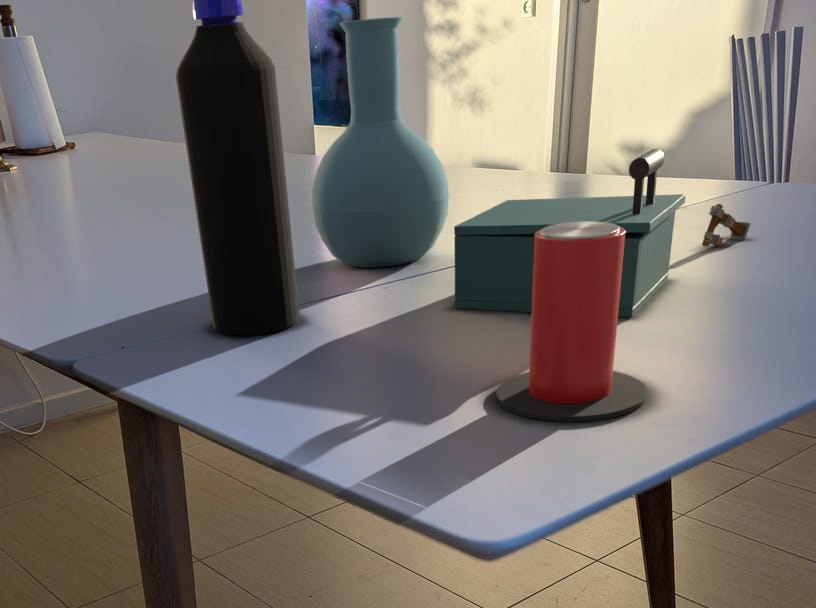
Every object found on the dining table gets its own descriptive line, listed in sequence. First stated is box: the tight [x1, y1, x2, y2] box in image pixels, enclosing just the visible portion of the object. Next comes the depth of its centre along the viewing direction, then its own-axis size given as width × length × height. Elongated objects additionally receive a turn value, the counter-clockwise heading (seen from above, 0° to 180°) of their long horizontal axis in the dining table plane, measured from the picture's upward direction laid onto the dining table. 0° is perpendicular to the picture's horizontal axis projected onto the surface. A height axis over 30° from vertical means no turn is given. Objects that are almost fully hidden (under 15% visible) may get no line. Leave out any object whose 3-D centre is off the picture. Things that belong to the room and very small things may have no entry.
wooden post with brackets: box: [701, 203, 751, 247], centre depth 106 cm, size 2×8×4 cm, turn 131°
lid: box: [453, 148, 687, 236], centre depth 88 cm, size 18×15×5 cm
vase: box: [311, 15, 450, 268], centre depth 108 cm, size 17×16×25 cm
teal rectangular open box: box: [454, 211, 676, 319], centre depth 91 cm, size 18×15×7 cm
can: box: [528, 222, 625, 404], centre depth 65 cm, size 6×6×11 cm
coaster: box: [495, 370, 649, 423], centre depth 68 cm, size 11×11×1 cm
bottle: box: [175, 0, 300, 337], centre depth 85 cm, size 9×9×28 cm
